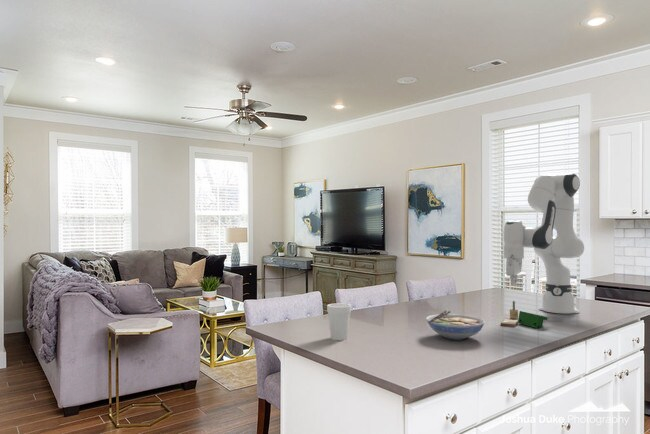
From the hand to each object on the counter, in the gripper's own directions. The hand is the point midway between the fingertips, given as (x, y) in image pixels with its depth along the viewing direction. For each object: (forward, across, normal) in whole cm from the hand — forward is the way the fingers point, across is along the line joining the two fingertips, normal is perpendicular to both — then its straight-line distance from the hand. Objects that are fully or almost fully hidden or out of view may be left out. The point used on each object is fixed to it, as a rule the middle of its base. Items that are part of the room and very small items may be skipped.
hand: (513, 283), depth 218 cm
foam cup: (+17, -74, +53) cm, 93 cm away
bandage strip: (+17, -10, 0) cm, 20 cm away
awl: (+17, 0, 0) cm, 17 cm away
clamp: (+18, -8, -9) cm, 21 cm away
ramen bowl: (+17, -49, +14) cm, 54 cm away
